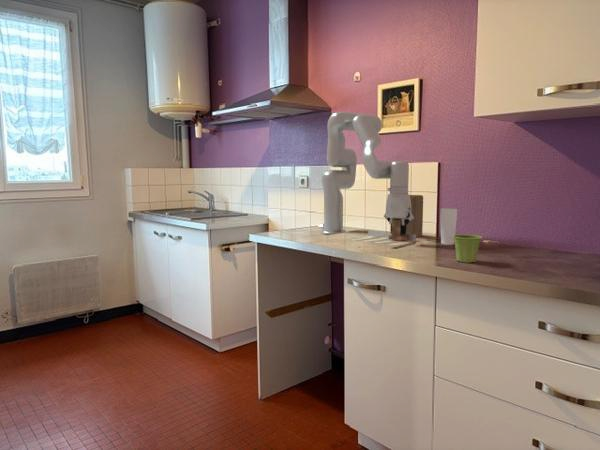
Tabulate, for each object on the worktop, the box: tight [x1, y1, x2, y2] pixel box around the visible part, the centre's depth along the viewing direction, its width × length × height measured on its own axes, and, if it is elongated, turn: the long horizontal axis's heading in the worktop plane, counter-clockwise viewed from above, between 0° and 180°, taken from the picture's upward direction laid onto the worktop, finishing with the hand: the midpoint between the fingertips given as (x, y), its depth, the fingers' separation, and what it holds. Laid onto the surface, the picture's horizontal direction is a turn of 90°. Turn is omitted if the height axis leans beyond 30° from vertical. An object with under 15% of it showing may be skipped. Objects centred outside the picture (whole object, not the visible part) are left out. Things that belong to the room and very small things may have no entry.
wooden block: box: [396, 194, 424, 238], centre depth 200 cm, size 10×10×20 cm
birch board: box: [349, 229, 417, 250], centre depth 188 cm, size 23×16×4 cm
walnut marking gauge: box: [389, 219, 407, 241], centre depth 187 cm, size 6×5×8 cm
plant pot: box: [452, 234, 483, 264], centre depth 150 cm, size 9×9×9 cm
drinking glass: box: [439, 207, 458, 246], centre depth 185 cm, size 7×7×15 cm
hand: (398, 233), depth 187 cm, fingers closed on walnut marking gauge, 4 cm apart
